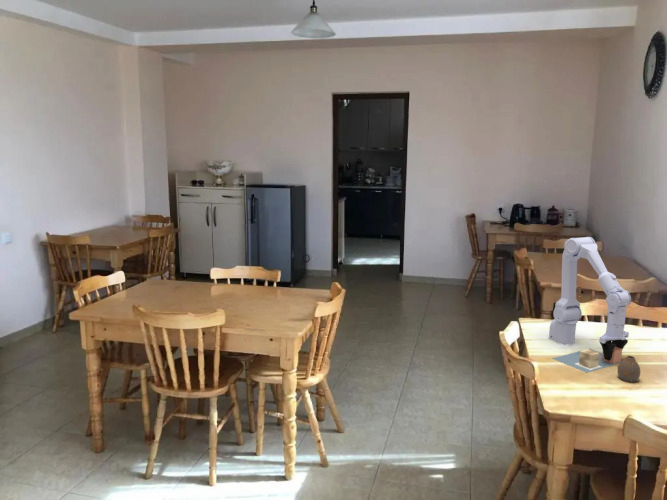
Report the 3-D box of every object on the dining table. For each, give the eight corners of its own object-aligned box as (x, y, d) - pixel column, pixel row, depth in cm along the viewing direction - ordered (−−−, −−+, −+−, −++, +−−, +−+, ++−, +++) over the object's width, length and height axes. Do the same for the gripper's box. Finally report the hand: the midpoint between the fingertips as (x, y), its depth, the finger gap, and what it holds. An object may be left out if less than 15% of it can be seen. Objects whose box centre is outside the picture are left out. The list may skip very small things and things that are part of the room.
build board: (551, 360, 211) (551, 357, 211) (589, 350, 222) (589, 348, 221) (586, 374, 198) (587, 372, 198) (625, 363, 209) (625, 361, 209)
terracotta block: (602, 359, 210) (603, 346, 209) (609, 357, 212) (611, 344, 211) (613, 363, 206) (614, 350, 205) (620, 361, 209) (622, 348, 208)
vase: (611, 378, 195) (614, 354, 194) (626, 375, 198) (629, 352, 196) (628, 386, 189) (631, 361, 187) (643, 383, 192) (647, 359, 190)
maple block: (578, 364, 205) (580, 351, 204) (586, 361, 207) (588, 349, 206) (589, 368, 201) (591, 355, 200) (597, 366, 203) (599, 353, 202)
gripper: (613, 329, 200) (609, 365, 202) (638, 323, 207) (633, 358, 209) (595, 323, 206) (591, 359, 208) (620, 318, 213) (616, 352, 215)
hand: (611, 358), depth 209 cm, fingers closed on terracotta block, 4 cm apart
